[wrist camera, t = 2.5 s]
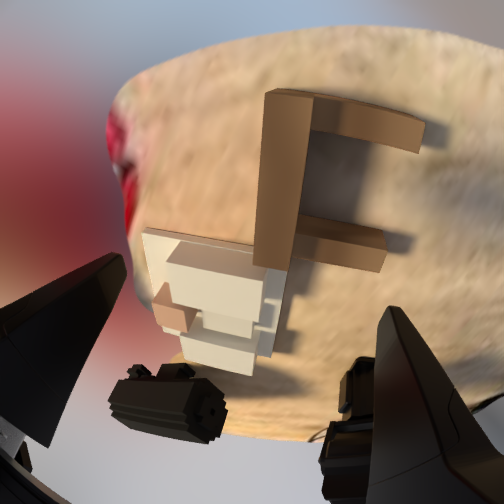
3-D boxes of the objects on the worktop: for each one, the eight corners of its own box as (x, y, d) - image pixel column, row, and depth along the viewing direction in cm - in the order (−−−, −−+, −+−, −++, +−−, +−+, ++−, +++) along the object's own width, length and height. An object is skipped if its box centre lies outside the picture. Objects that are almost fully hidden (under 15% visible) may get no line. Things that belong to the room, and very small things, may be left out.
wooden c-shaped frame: (290, 252, 21) (284, 284, 19) (272, 351, 29) (265, 379, 26) (145, 227, 23) (124, 251, 20) (166, 326, 31) (153, 350, 28)
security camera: (121, 355, 40) (92, 406, 32) (212, 348, 31) (182, 425, 24) (149, 380, 43) (126, 430, 35) (242, 379, 34) (221, 449, 27)
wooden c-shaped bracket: (412, 115, 14) (435, 128, 11) (375, 251, 20) (382, 288, 17) (277, 88, 15) (265, 93, 12) (264, 231, 21) (252, 265, 18)
